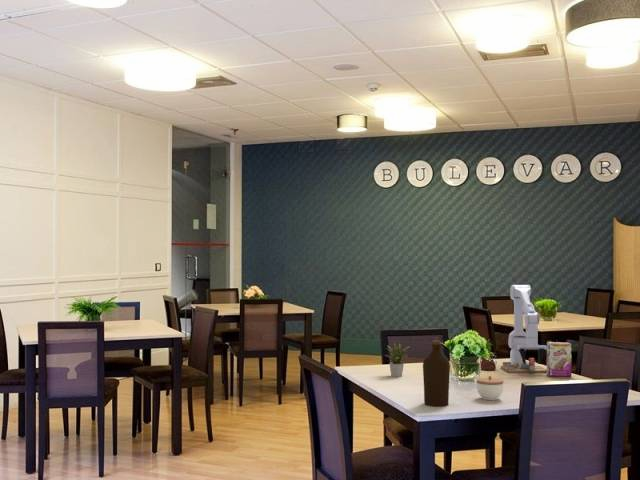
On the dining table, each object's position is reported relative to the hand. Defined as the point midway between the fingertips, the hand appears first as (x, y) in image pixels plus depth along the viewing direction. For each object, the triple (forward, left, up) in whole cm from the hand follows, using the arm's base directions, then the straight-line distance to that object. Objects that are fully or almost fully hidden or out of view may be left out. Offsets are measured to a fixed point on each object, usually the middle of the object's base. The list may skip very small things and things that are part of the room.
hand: (531, 363), depth 356 cm
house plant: (+11, -69, -5) cm, 70 cm away
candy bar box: (+8, +11, -5) cm, 14 cm away
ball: (-9, -5, -3) cm, 11 cm away
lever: (-7, -1, -3) cm, 8 cm away
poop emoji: (-12, -19, -5) cm, 23 cm away
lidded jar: (+65, -38, -5) cm, 75 cm away
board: (-8, -1, -5) cm, 9 cm away
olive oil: (+76, -62, -5) cm, 98 cm away
